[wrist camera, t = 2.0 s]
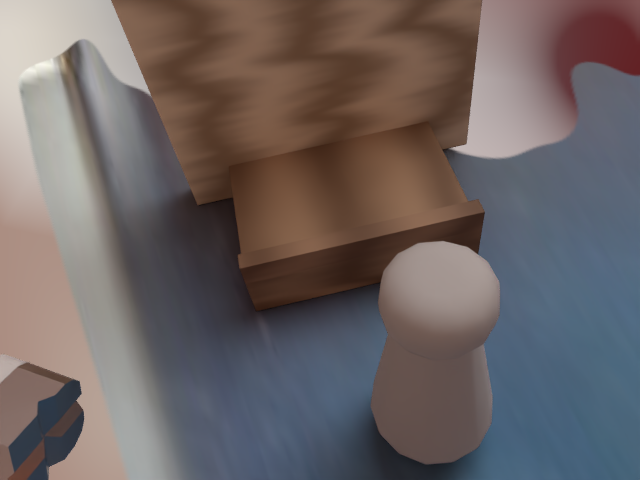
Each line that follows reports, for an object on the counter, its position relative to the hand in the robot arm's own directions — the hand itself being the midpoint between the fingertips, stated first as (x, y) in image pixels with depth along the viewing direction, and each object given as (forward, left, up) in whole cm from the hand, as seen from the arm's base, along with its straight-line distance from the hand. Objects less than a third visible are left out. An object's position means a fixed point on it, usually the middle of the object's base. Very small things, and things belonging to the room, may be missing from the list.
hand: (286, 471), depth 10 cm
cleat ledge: (-5, -21, -19) cm, 29 cm away
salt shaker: (-6, -7, -20) cm, 22 cm away
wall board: (-5, -27, -19) cm, 34 cm away
